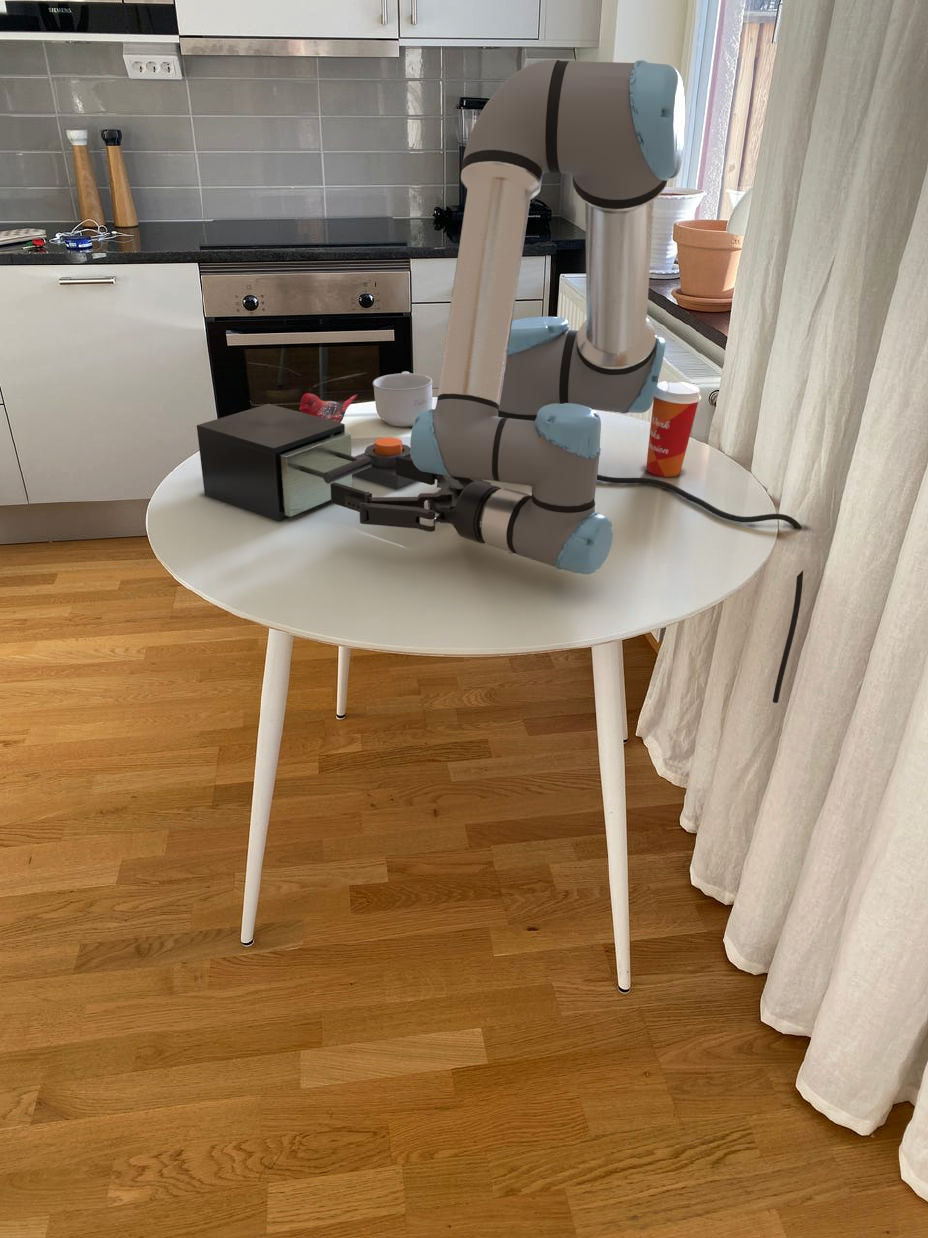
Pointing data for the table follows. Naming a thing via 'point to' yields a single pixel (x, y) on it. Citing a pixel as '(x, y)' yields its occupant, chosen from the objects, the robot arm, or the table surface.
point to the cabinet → (255, 454)
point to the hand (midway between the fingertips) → (365, 478)
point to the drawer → (317, 471)
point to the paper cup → (671, 426)
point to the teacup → (402, 397)
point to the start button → (388, 446)
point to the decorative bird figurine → (324, 407)
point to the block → (384, 468)
